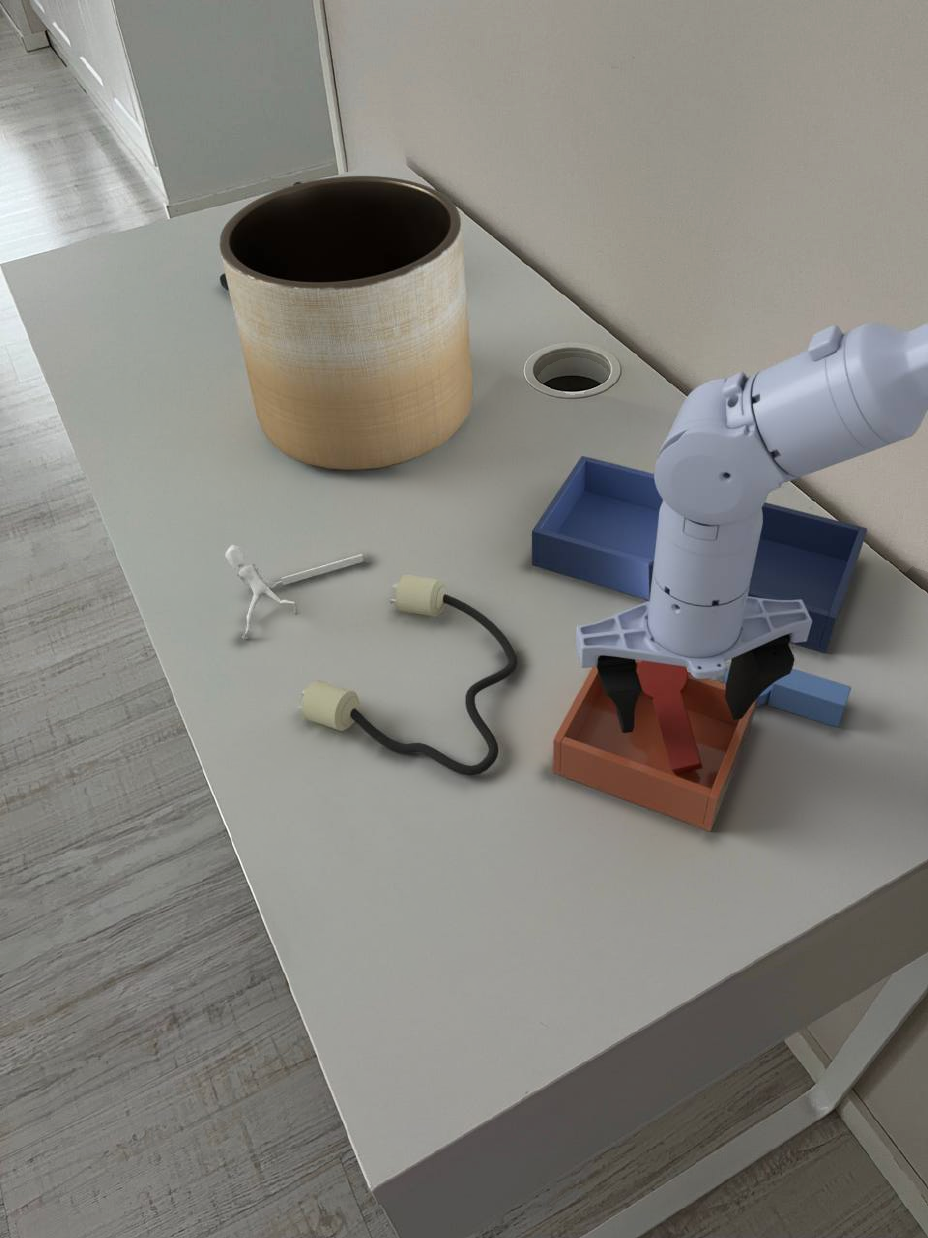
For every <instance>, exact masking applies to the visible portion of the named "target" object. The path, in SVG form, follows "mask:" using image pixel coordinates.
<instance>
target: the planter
mask: <svg viewBox="0 0 928 1238" xmlns="http://www.w3.org/2000/svg"><path fill="white" fill-rule="evenodd" d="M462 227H463V226H462V218H461V214H460V211H459V209H458V208H457V206H456V205H455V203H454V202H453V201H452V200H451V199H450V198H449V197H447V195H445V194H443V193H442V192H440V191H438V190H436V189H434V188H432V187H430V186H427V185H425V184H422V183H418V182H416V181H411V180H407V179H404V178H397V177H390V176H380V175H379V176H378V175H348V176H345V175H344V176H334V177H326V178H320V179H314V180H310V181H305V182H301V183H300V184H296V185H293V184H292V185H290V186H287V187H284V188H281V189H280V188H279V189H278V190H275V191H272V192H270V193H268V194H265V195H263V196H261V197H259V198H257V199H255V200H254V201H252V202H250V203H248V204H247V205H245V206H244V207H242V208H241V209H240V210H239V211H237V212H236V213H235V214H233V215H232V216H231V218H230V219H229V220H228V221H227V222H226V224H225V225H224V227H223V228H222V230H221V232H220V237H219V241H218V245H219V246H218V247H219V252H220V257H221V262H222V266H223V270H224V273H225V275H226V279H227V283H228V288H229V291H228V292H229V296H230V301H231V305H232V309H233V314H234V317H235V323H236V327H237V332H238V336H239V341H240V345H241V350H242V354H243V359H244V364H245V369H246V373H247V378H248V382H249V387H250V392H251V396H252V401H253V404H254V409H255V410H254V411H255V413H256V417H257V420H258V422H259V425H260V427H261V430H262V432H263V434H264V436H265V438H266V439H267V440H268V441H269V443H271V444H272V445H273V447H275V448H276V449H277V450H279V451H280V452H281V453H283V454H284V455H287V456H288V457H290V458H291V459H294V460H296V461H299V462H302V463H304V464H307V465H311V466H315V467H318V468H324V469H329V470H330V469H331V470H337V471H369V470H377V469H383V468H388V467H392V466H396V465H399V464H400V465H401V464H403V463H407V462H409V461H412V460H414V459H416V458H419V457H421V456H423V455H426V454H428V453H429V452H431V451H434V450H435V449H437V448H438V447H439V446H441V445H442V444H444V443H445V442H447V441H448V440H449V439H450V438H452V436H454V434H456V432H457V431H458V430H459V429H460V428H461V427H462V426H463V424H464V422H465V421H466V419H467V418H468V416H469V414H470V411H471V407H472V401H473V387H474V386H473V370H472V358H471V357H472V355H471V343H470V342H471V341H470V330H469V329H470V328H469V318H468V317H469V316H468V304H467V301H468V300H467V289H466V287H467V286H466V275H465V259H464V258H465V257H464V242H463V241H464V240H463V239H464V238H463V228H462Z"/></svg>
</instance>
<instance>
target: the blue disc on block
mask: <svg viewBox="0 0 928 1238" xmlns="http://www.w3.org/2000/svg"><path fill="white" fill-rule="evenodd" d="M729 669H730V666H729V667H728V668H727V669H726V671H725V674H724V675H725V676H724V681H723V683H724V684H726V682H727V677H728V673H729ZM851 690H852V687H851V685H847V684H845V683H842V682H841V683H840V682H837V681H834V680H831V679H828V678H824V677H821V676H818V675H815V674H811V673H808V672H805V671H802V670H798V669H795V668H792V671H791V673H790V674H788V675H786V676H784V677H782V678H781V679H779V680H777V681H776V682H774V683H773V684H772V685H770V686H769V687H768V688H767V689H766V690H765V691H763V692H762V693H761V695H760V696H759V697H758V699H757V703H756V707H758V706H762V705H763V704H766V703H767V702H768V703H767V705H768V706H770V707H773V708H776V709H779V710H782V711H785V712H788V713H791V714H795V715H798V716H801V717H804V718H807V719H810V720H813V721H816V722H820V723H821V724H826V725H828V726H831V727H835V728H838V727H839V726H840V723H841V720H842V718H843V715H844V711H845V709H846V706H847V702H848V699H849V696H850V693H851Z"/></svg>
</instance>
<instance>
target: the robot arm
mask: <svg viewBox="0 0 928 1238" xmlns="http://www.w3.org/2000/svg"><path fill="white" fill-rule="evenodd" d="M927 412H928V322H926V323H924V324H922V325H919V326H918V327H915V328H914V329H912V330H907V329H906V330H905V329H901V328H900V327H899V328H898V327H895V326H891V325H889V324H886V323H882V322H877V321H869V322H865V323H863V324H861V325H859V326H857V327H855V328H852V329H850V330H848V331H846V332H844V333H843V331H842V330H841V328H840V326H839V325H837V324H833V325H831V326H829V327H826V328H823V329H822V330H819V331H818V332H815V333H814V334H813V335H812V337H811V339H810V343H809V345H808V348H807V349H806V350H804V351H802V352H799V353H798V354H795V355H793V356H791V357H789V358H786V359H784V360H782V361H779V362H777V363H776V364H773V365H771V366H769V367H768V368H764V369H763V370H760V371H758V372H756V373H753V374H751V375H749V376H748V375H747V374H746V373H745V372H744V371H741V372H739V373H735V374H734V375H732V376H730V377H728V378H727V377H726V378H725V377H724V378H717V379H712V380H709V381H706V382H704V383H701V384H700V385H698V386H697V387H696V388H694V389H693V390H692V391H691V392H690V393H689V394H688V395H687V396H686V398H685V400H684V401H683V403H682V405H681V407H680V409H679V411H678V413H677V414H676V417H675V419H674V421H673V423H672V426H671V428H670V429H669V432H668V434H667V436H666V438H665V439H664V442H663V443H662V446H661V448H660V450H659V452H658V455H657V459H656V462H655V465H654V472H653V474H654V479H655V484H656V487H657V490H658V492H659V494H660V496H661V497H662V499H663V503H662V505H661V507H660V511H659V522H658V531H657V540H656V549H655V558H654V567H653V575H652V585H651V594H650V600H647V601H645V602H643V603H640V604H638V605H635V606H633V607H631V608H628V609H626V610H623V611H621V612H619V613H615V614H614V615H612V616H609V617H606V618H604V619H601V620H599V621H595V622H592V623H591V622H590V623H587V624H581V625H580V624H579V625H577V626H576V629H575V649H576V653H577V658H578V661H579V664H580V668H581V669H589V668H592V667H595V666H597V670H598V674H599V677H600V681H601V684H602V687H603V689H604V691H605V693H606V695H607V696H608V697H609V698H610V699H611V700H612V701H613V702H614V704H615V706H616V712H617V716H618V719H619V723H620V727H621V730H622V732H623V733H630V732H633V729H634V723H635V707H636V703H637V700H638V697H639V695H640V693H641V692H642V687H641V684H640V680H639V677H638V674H637V670H636V669H637V663H636V661H635V659H636V660H643V661H650V662H657V663H664V664H671V665H678V666H684V667H686V668H687V669H688V670H689V672H690V673H691V674H692V676H693V677H695V678H697V679H705V678H709V679H713V678H720V677H723V676H724V675H726V672H727V661H729V660H730V665H729V667H730V669H729V673H728V677H727V682H726V688H725V699H726V702H727V704H728V707H729V710H730V712H731V715H732V718H733V720H736V719H742V718H743V717H744V715H745V714H746V712H747V711H748V710H749V708H750V707H751V706H752V704H753V703H754V702H755V700H756V699H757V698H758V697H759V696H760V695H761V693H762V692H763V691H765V690H766V689H767V688H768V687H769V686H770V685H772V684H773V683H774V682H776V681H777V680H779V679H781V678H782V677H784V676H786V675H788V674H790V673H791V671H792V669H794V664H795V656H794V654H793V651H792V649H791V646H790V642H792V643H791V644H793V643H798V642H806V641H807V638H808V635H809V631H810V628H811V624H812V619H811V617H810V615H809V613H808V611H807V609H806V607H805V605H804V603H803V601H802V600H801V599H800V600H771V599H763V598H756V597H748V592H749V587H750V582H751V577H752V572H753V567H754V562H755V558H756V553H757V548H758V543H759V538H760V534H761V529H762V524H763V514H762V506H763V505H764V503H765V502H766V500H767V498H768V496H769V494H770V493H772V492H773V491H775V490H777V489H781V488H782V486H783V484H784V483H788V482H791V481H794V480H796V479H799V478H802V477H804V476H807V475H810V474H813V473H815V472H818V471H822V470H824V469H827V468H829V467H832V466H835V465H838V464H841V463H843V462H846V461H849V460H851V459H854V458H858V457H860V456H863V455H865V454H868V453H871V452H874V451H876V450H878V449H882V448H885V447H887V446H890V445H892V444H896V443H898V442H900V441H903V440H906V439H909V438H912V437H913V436H914V435H915V434H917V432H918V430H919V429H920V427H921V426H922V423H923V422H924V419H925V417H926V415H927Z"/></svg>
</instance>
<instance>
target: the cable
mask: <svg viewBox="0 0 928 1238" xmlns="http://www.w3.org/2000/svg"><path fill="white" fill-rule="evenodd" d="M392 589H394V590H395V598H391V599H389V602H390V604H391V605H393V606H396V608H397V609H398V611H400V612H404V613H410V614H411V613H412V614H417V615H422V616H429V617H434V618H435V617H438V616H439V615H440V614H441V613H443V611H444V609H445V608H446V606H447V605H448V606H450V607H452V608H454V609H457V610H458V611H461V612H462V613H464V614H466V615H467V616H469V617H470V618H472V619H474V620H475V621H476V622H478V623H479V624H480V625H482V627H484V628H485V629H486V630H487V631H488V632H489V633H490V634H491V635H492V637H494V638H495V640H496V641H497V643H499V645H500V647H501V648H502V649H503V652H504V654H505V656H506V659H507V661H508V662H507V664H506V665H505V666H504V667H503V668H502V669H500V670H498V671H496V672H494V673H493V674H491V675H489V676H486V677H484V678H482V679H480V680H478V681H476V682H475V683H473V684H472V685H471V686H470V687H469V688H468V689H467V691H466V693H465V699H464V701H465V703H464V704H465V708H466V712H467V714H468V716H469V718H470V721H472V723H473V725H474V726H475V728H476V729H477V730H478V733H480V735H481V736H482V738H483V740H484V741H485V743H486V745H487V749H488V750H487V751H488V753H487V755H486V756H485V757H484V758H483V759H482V760H481V761H480V762H479V763H476V764H473V765H469V764H464V763H461V762H459V761H457V760H455V759H453V758H451V757H449V756H448V755H446V754H444V753H443V752H441V751H440V750H438V749H436V748H434V747H432V746H430V745H428V744H426V743H422V742H410V743H404V742H400V741H397V740H395V739H392V738H391V737H389V736H387V735H386V734H384V733H383V732H382V731H381V730H380V729H378V728H377V727H376V726H375V725H374V724H373V723H371V722H370V721H369V720H368V719H367V718H366V717H365V715H363V714H362V713H361V712H360V709H361V705H360V699H359V696H358V694H357V692H355V691H354V690H351V689H347V688H344V687H342V686H338V685H335V684H333V683H332V684H331V683H328V682H326V681H322V680H319V679H318V680H314V681H313V682H312V683H310V684H309V685H308V686H307V688H304V689H303V690H302V691H301V692H300V695H301V696H302V699H301V703H300V705H298V706H296V709H297V711H298V712H300V713H301V715H302V717H303V718H304V719H306V720H307V721H310V722H313V723H316V724H320V725H322V726H325V727H328V728H331V729H334V730H337V731H340V732H341V731H342V732H344V731H346V730H348V729H349V728H350V727H351V726H352V725H353V724H354V723H356V725H358V727H360V728H361V729H362V730H363V731H364V732H365V733H366V734H368V735H369V736H370V737H371V738H373V740H375V741H376V742H377V743H379V744H381V745H382V746H383V747H385V748H387V749H388V750H390V751H393V752H396V753H399V754H415V753H419V754H422V755H424V756H427V757H428V758H431V759H432V760H434V761H435V762H437V763H438V764H439V765H442V766H443V767H444V768H446V769H449V770H450V771H452V772H454V773H458V774H459V775H462V776H470V777H471V776H477V775H478V776H479V775H481V774H482V773H484V772H486V771H488V770H489V769H490V768H491V766H493V765H494V763H495V762H496V760H497V758H498V756H499V745H498V741H497V739H496V737H495V735H494V734H493V732H492V731H491V729H490V728H489V726H488V725H487V724H486V722H485V720H484V719H483V718H482V716H481V714H480V713H479V711H478V708H477V705H476V701H475V700H476V695H477V694H478V693H480V692H481V691H483V690H485V689H487V688H489V687H491V686H493V685H495V684H498V683H499V682H501V681H503V680H505V679H506V678H508V677H509V676H511V675H512V674H513V673H514V672H515V670H516V668H517V666H518V657H517V654H516V652H515V649H514V647H513V646H512V644H511V642H510V641H509V639H508V638H507V637H506V635H505V634H504V633H503V631H502V630H501V629H500V628H499V627H498V626H497V625H496V624H495V623H494V622H493V621H492V620H491V619H489V618H488V617H487V616H485V615H484V614H483V613H482V612H480V611H479V610H477V609H476V608H474V607H472V606H471V605H469V604H468V603H466V602H464V601H462V600H460V599H457V598H456V597H453V596H451V595H449V594H448V588H447V586H446V584H445V583H444V580H442V579H439V578H434V577H433V578H432V577H427V576H420V575H412V574H403V575H402V577H401V578H400V579H399V581H398V582H396V583H393V585H392Z"/></svg>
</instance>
